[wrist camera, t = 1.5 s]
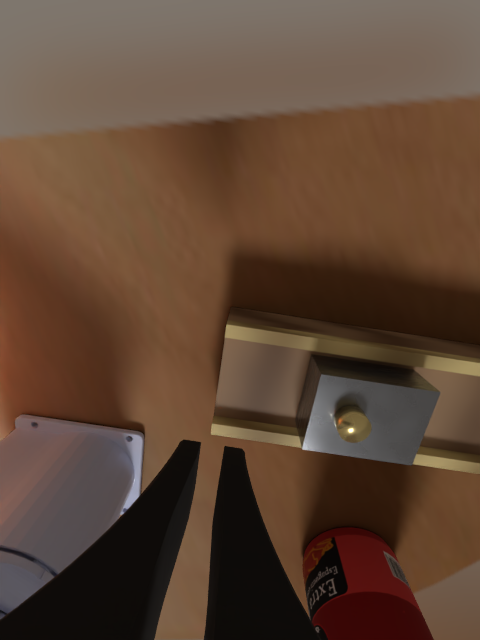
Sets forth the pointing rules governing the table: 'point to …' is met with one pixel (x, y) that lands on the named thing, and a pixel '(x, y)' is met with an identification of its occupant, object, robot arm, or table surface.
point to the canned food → (359, 589)
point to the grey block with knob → (364, 409)
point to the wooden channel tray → (352, 344)
